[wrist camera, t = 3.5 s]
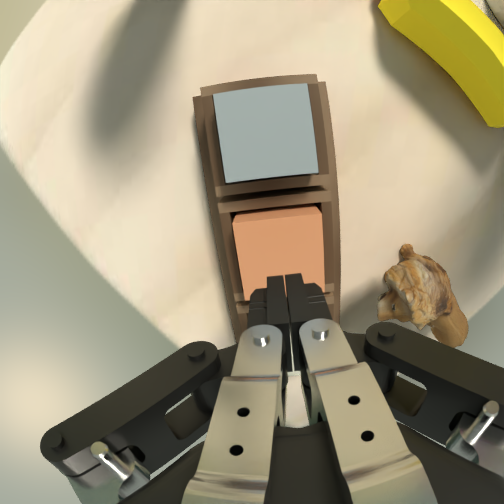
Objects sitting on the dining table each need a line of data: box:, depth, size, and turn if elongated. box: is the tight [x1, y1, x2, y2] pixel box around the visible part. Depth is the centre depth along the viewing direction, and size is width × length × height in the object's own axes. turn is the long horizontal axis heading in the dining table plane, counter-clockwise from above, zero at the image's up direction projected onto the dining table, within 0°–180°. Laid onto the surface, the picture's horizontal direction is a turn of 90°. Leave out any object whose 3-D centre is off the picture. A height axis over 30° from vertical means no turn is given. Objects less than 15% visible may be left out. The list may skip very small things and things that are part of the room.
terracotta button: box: [232, 203, 325, 301], centre depth 17 cm, size 5×5×3 cm
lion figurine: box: [377, 244, 468, 348], centre depth 18 cm, size 15×5×9 cm, turn 59°
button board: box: [193, 74, 341, 343], centre depth 19 cm, size 9×21×4 cm, turn 8°
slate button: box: [213, 83, 319, 183], centre depth 14 cm, size 5×5×3 cm
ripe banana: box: [378, 0, 504, 128], centre depth 11 cm, size 18×7×8 cm
